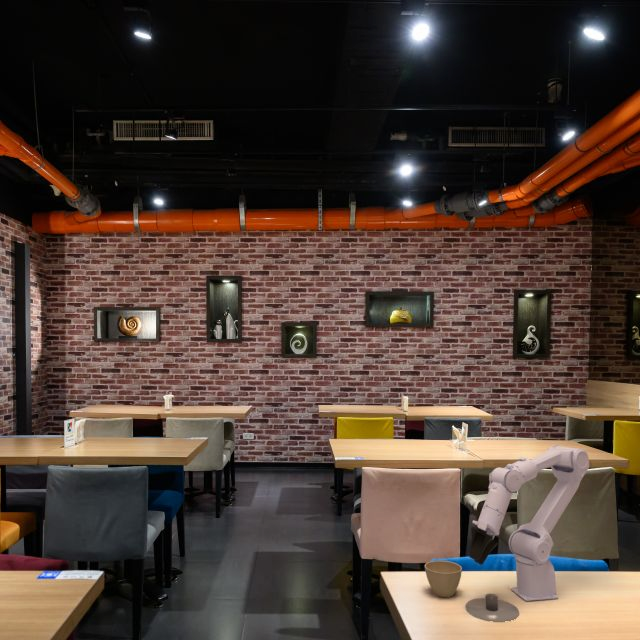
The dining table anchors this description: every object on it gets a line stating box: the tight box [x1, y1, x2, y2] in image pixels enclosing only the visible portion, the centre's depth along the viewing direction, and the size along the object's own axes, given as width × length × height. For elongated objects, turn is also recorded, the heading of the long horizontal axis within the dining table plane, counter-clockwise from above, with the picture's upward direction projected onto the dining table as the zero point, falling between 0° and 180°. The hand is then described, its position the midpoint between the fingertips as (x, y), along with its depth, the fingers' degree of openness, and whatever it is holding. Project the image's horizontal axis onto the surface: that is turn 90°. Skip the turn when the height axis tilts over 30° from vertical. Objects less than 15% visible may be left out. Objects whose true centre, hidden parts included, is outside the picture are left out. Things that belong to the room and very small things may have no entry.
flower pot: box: [424, 560, 463, 598], centre depth 146 cm, size 10×10×7 cm
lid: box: [465, 593, 520, 623], centre depth 135 cm, size 13×13×4 cm
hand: (475, 561), depth 137 cm, fingers open, 7 cm apart
